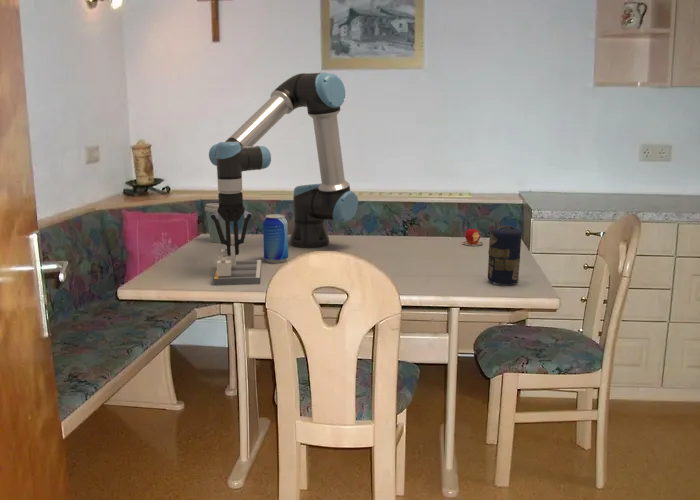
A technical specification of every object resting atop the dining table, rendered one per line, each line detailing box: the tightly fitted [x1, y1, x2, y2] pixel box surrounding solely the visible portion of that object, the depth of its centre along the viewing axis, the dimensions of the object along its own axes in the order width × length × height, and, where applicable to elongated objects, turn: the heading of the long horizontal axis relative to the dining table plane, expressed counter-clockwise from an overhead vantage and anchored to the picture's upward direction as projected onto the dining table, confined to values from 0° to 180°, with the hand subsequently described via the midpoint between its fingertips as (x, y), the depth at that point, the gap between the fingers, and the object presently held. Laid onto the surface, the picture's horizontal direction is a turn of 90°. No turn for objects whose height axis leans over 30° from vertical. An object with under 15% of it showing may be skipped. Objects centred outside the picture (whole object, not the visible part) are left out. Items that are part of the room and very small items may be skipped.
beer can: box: [262, 213, 289, 264], centre depth 240 cm, size 8×8×16 cm
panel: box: [213, 246, 262, 286], centre depth 222 cm, size 14×23×7 cm, turn 6°
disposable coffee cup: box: [204, 202, 226, 244], centre depth 272 cm, size 11×11×15 cm
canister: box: [487, 225, 522, 285], centre depth 213 cm, size 10×10×18 cm
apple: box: [461, 228, 484, 247], centre depth 269 cm, size 8×8×6 cm
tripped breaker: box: [217, 252, 232, 269], centre depth 222 cm, size 4×4×5 cm
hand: (233, 264), depth 222 cm, fingers closed
